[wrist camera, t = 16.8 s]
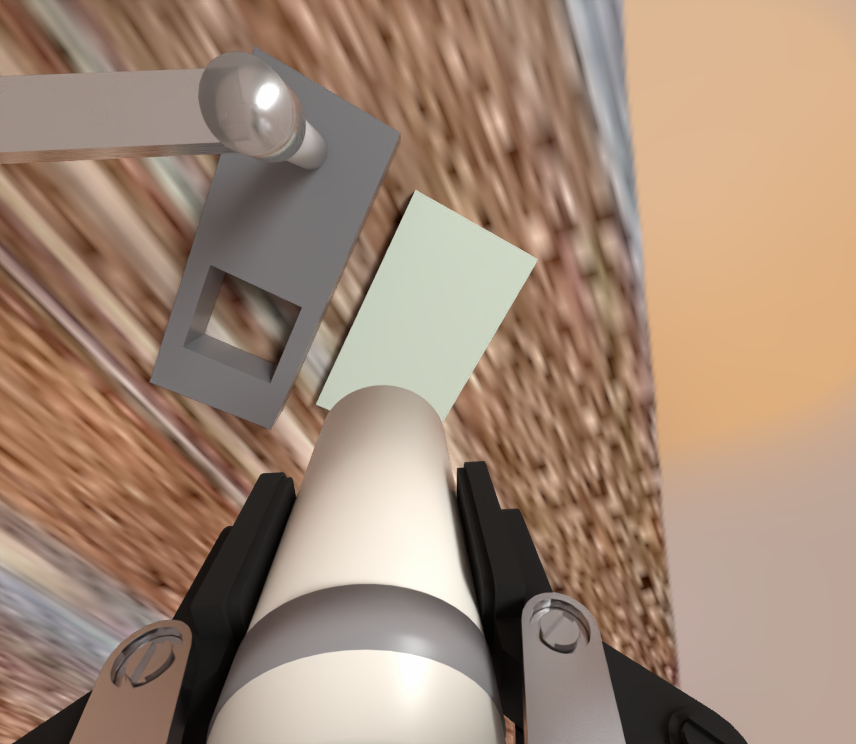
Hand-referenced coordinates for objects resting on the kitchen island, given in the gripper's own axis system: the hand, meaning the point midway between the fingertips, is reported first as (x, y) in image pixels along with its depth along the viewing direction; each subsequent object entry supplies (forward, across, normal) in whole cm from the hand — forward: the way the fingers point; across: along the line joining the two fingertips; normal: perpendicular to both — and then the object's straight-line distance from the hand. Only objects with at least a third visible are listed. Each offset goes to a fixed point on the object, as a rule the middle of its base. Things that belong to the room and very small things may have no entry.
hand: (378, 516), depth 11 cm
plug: (+4, 0, 0) cm, 4 cm away
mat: (+19, -2, 0) cm, 19 cm away
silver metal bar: (+9, +12, -11) cm, 18 cm away
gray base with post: (+19, +7, -5) cm, 21 cm away
